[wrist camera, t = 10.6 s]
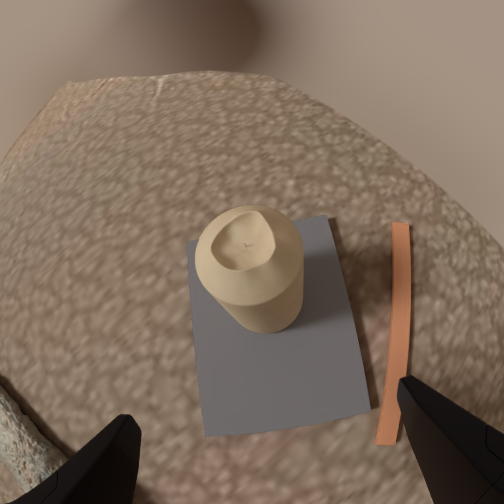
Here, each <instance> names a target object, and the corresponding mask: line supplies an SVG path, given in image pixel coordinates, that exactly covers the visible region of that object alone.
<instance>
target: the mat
mask: <svg viewBox="0 0 504 504" xmlns="http://www.w3.org/2000/svg"><path fill="white" fill-rule="evenodd" d="M292 222H293V224H294V225H295V226H296V228H297V229H298V231H299V233H300V236H301V239H302V242H303V249H304V280H303V303H302V307H301V310H300V312H299V314H298V316H297V317H296V319H295V320H294V321H293V322H292V323H291V324H290V325H289V326H287V327H286V328H284V329H282V330H280V331H278V332H274V333H267V334H264V333H256V332H253V331H250V330H248V329H246V328H245V327H243V326H242V325H241V324H240V323H239V322H238V321H237V320H236V319H235V318H234V317H233V316H232V315H231V314H230V313H229V312H228V311H227V310H226V309H225V308H224V307H223V306H222V305H221V304H220V303H219V302H218V301H217V300H216V299H215V298H214V297H213V296H212V295H211V294H210V293H209V292H208V291H207V289H206V288H205V287H204V286H203V284H202V283H201V281H200V279H199V277H198V274H197V271H196V266H195V252H196V247H197V244H198V241H199V239H198V240H193V241H189V242H187V252H188V271H189V287H190V301H191V314H192V326H193V337H194V347H195V357H196V367H197V376H198V385H199V393H200V401H201V409H202V416H203V423H204V430H205V437H207V436H225V435H238V434H249V433H259V432H267V431H275V430H282V429H289V428H295V427H301V426H307V425H312V424H318V423H323V422H328V421H332V420H337V419H341V418H346V417H350V416H354V415H358V414H362V413H366V412H370V411H371V407H370V401H369V395H368V389H367V383H366V378H365V372H364V367H363V362H362V357H361V352H360V347H359V342H358V337H357V332H356V328H355V323H354V319H353V314H352V310H351V306H350V301H349V297H348V293H347V289H346V285H345V281H344V277H343V273H342V269H341V265H340V261H339V258H338V254H337V250H336V247H335V243H334V239H333V236H332V232H331V229H330V225H329V222H328V219H327V215H321V216H316V217H310V218H305V219H299V220H294V221H292Z"/></svg>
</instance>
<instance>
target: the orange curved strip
mask: <svg viewBox="0 0 504 504" xmlns="http://www.w3.org/2000/svg"><path fill="white" fill-rule="evenodd" d="M410 312H411V257H410V236H409V224H405V223H397V222H393V223H392V304H391V323H390V337H389V349H388V359H387V369H386V377H385V385H384V392H383V399H382V406H381V412H380V418H379V423H378V429H377V434H376V439H375V444H376V445H395V442H396V437H397V432H398V427H399V421H400V415H401V412H400V408H399V405H398V401H397V389H398V382H399V379H400V378H402V377H405V376H406V371H407V361H408V349H409V334H410Z"/></svg>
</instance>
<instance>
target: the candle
mask: <svg viewBox="0 0 504 504" xmlns="http://www.w3.org/2000/svg"><path fill="white" fill-rule="evenodd" d="M195 266H196V271H197V274H198V277H199V279H200V281H201V283H202V284H203V286H204V287H205V288H206V289H207V291H208V292H209V293H210V294H211V295H212V296H213V297H214V298H215V299H216V300H217V301H218V302H219V303H220V304H221V305H222V306H223V307H224V308H225V309H226V310H227V311H228V312H229V313H230V314H231V315H232V316H233V317H234V318H235V319H236V320H237V321H238V322H239V323H240V324H241V325H242V326H243V327H245V328H246V329H248V330H250V331H253V332H256V333H264V334H267V333H274V332H278V331H280V330H282V329H284V328H286V327H287V326H289V325H290V324H291V323H292V322H293V321H294V320H295V319H296V317H297V316H298V314H299V312H300V310H301V307H302V303H303V280H304V249H303V242H302V239H301V236H300V233H299V231H298V229H297V228H296V226H295V225H294V224H293V222H292V221H291V220H290V219H289V218H288V217H286V216H285V215H284V214H282V213H281V212H279V211H277V210H275V209H272V208H269V207H265V206H259V205H247V206H241V207H237V208H234V209H231V210H228V211H226V212H224V213H223V214H221V215H220V216H218V217H217V218H215V219H214V220H213V221H212V222H211V223H210V224H209V225H208V226H207V227H206V229H205V230H204V231H203V233H202V235H201V237H200V239H199V241H198V244H197V247H196V252H195Z"/></svg>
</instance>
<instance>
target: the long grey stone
mask: <svg viewBox="0 0 504 504" xmlns="http://www.w3.org/2000/svg"><path fill="white" fill-rule="evenodd" d="M0 460H1V462H2V463H3V465H4V466H5V468H6V469H7V471H8V472H9V473H10V474H11V476H12V477H13V478H14V479H15V481H16V482H17V484H18V486H19V487H20V488H21V489H22V490H23V491H24V492H25V493H27V492H28V491H30V490H31V489H33V488H34V487H36V486H37V485H38V484H40V483H41V482H43V481H44V480H45V479H46V478H48V477H49V476H50V475H51V474H52V473H54V472H55V471H56V470H58V468H59V467H61V466H62V465H63V464H64V463H65V462H66V461H68V460H69V459H68V458H67V457H66V456H65V455H64V454H63V453H62V452H61V451H60V450H59V449H58V448H57V447H56V446H55V445H53V444H52V443H51V442H50V441H48V440H47V439H46V438H45V437H44V436H43V435H41V433H40V432H39V431H38V429H37V427H36V426H35V425H34V424H33V422H32V421H31V420H30V419H29V417H28V416H27V415H23V413H22V412H21V410H20V408H19V405H18V404H17V403H16V402H15V401H13V399H12V398H11V397H10V396H9V395H8V393H7V392H6V391H5V390H4V389H3V388H2V386H1V385H0Z"/></svg>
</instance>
